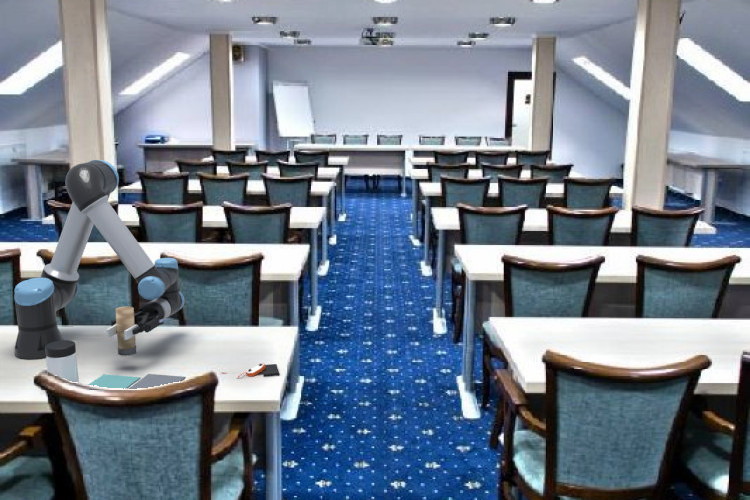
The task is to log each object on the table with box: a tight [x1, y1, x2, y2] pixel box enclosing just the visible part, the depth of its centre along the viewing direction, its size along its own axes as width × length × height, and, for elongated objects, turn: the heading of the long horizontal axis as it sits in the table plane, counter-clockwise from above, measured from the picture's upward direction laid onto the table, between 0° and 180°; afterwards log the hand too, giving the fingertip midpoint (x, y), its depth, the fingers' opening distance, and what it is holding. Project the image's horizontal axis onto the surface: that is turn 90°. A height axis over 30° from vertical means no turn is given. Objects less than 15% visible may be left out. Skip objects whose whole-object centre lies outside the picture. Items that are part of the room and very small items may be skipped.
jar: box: [45, 339, 79, 383], centre depth 221 cm, size 9×8×12 cm
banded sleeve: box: [115, 305, 137, 357], centre depth 232 cm, size 5×5×14 cm
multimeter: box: [222, 362, 280, 380], centre depth 228 cm, size 18×12×3 cm, turn 99°
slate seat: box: [128, 373, 186, 389], centre depth 222 cm, size 12×12×1 cm
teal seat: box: [87, 373, 141, 389], centre depth 222 cm, size 12×12×1 cm
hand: (116, 334), depth 227 cm, fingers closed on banded sleeve, 5 cm apart
